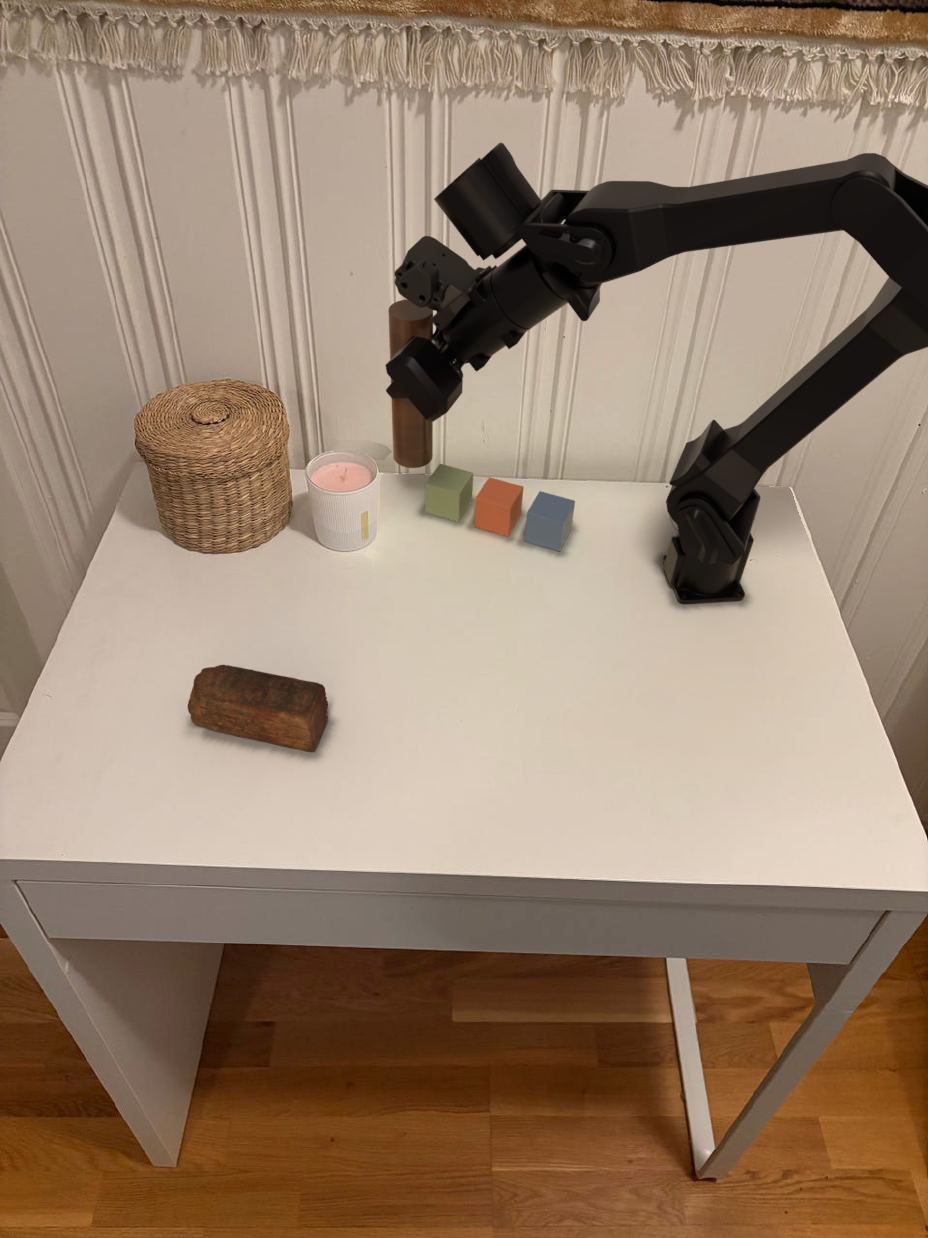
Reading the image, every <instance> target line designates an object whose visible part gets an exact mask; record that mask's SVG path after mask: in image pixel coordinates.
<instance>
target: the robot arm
mask: <svg viewBox="0 0 928 1238" xmlns="http://www.w3.org/2000/svg"><path fill="white" fill-rule="evenodd" d="M433 200H434V201H435V203H436V205H438V207H439V208H440V210H441V211H442V212H443V213H444V215H445V217H447V219H448V220H449V221H450V222H451V224H452V225H453V227H454V228H455V229H456V231H457V232H458V233H459V235H460V236H461V237H462V238H463V240H464V241H465V243H467V245H468V246H469V248H470V249H471V251H472V252H473V253H474V254H475V256H476V257H480V258H481V260H482V261H485V260H487V259H488V258H490V257H491V256H492V257H493V258H494V259H495V260H497V259H499V258H500V257H501V256H503V255H504V254H505V253H507V252H508V251H509V250H510V249H512V248H513V247H514V246H515V245H516V244H517V243H519V242H520V241H521V240H522V241H523V242H524V244H525V245H524V246H522V247H521V248H520V249H518V250H517V251H516V252H515V253H514V254H512V255H511V256H510V257H509V258H507V259H506V260H505V261H503V262H502V263H501V264H499V265H498V266H497V265H496V264H495V265H494V266H491V265H488V266H487V267H480V266H478V267H476V268H474V267H472V266H471V265H470V264H469V262H468V261H467V260H466V259H465V258H463V257H462V256H461V255H459V254H458V253H456V252H455V251H454V250H452V249H451V248H449V247H448V246H446V245H445V244H444V243H442V242H441V241H439V240H438V239H437V238H435V237H433V236H430V235H424V236H422V237H421V238H420V239H419V240H417V242H415V244H414V245H412V246H411V247H410V248H409V249H408V250H407V252H406V254H405V257H404V258H403V260H402V263H401V264H400V266H399V267H398V268H396V270H395V271H394V278H395V279H394V281H393V282H394V285H395V287H396V289H397V292H398V294H399V295H400V296H401V297H403V298H404V299H405V300H409V301H410V302H412V303H413V304H414V305H416V306H417V307H419V308H422V307H425V306H427V307H428V308H430V309H432V310H433V312H434V311H435V312H436V313H435V314H433V317H432V318H431V319H430V320H431V321H432V322H433V326H435V330H434V331H433V339H432V340H430V339H427V338H423V337H418V336H415V337H414V336H412V337H411V338H410V339H409V340H408V341H407V342H406V344H405V345H404V346H403V347H402V348H401V349H400V350H399V351H398V352H397V353H396V354H395V355H394V356H393V357H392V358H391V359H390V358H389V360H388V361H387V362H386V364H385V371H386V374H387V376H388V377H389V378H390V380H391V379H392V380H393V382H392V383H391V382H390V384H389V385H388V387H386V389H385V392H386V393H387V395H388V396H389V397H390V399H391V398H392V399H409V400H410V401H411V403H412V404H413V405H414V406H415V407H416V408H417V410H418V411H419V412H420V413H421V414H422V416H423V417H424V418H425V419H426V420H428V421H432V422H433V423H434V422H435V421H436V420H438V419H440V418H441V417H442V416H444V415H446V414H448V412H449V411H450V409H452V407H453V405H454V404H455V403H456V402H457V400H458V399H459V398H460V397H461V395H462V394H463V383H464V380H463V379H464V373H463V370H462V368H463V366H464V365H466V364H469V365H470V366H471V368H473V370H474V371H475V372H476V373H477V372H479V371H480V370H481V369H482V368H484V367H485V366H486V365H487V363H488V362H490V360H491V358H492V357H493V356H494V355H495V354H497V353H498V352H499V351H501V350H502V349H504V348H505V347H506V348H507V349H508V350H510V349H512V348H513V347H515V346H516V345H518V343H519V342H520V341H521V339H522V338H523V337H524V336H525V334H526V333H527V332H528V331H531V330H532V329H533V328H534V327H535V326H537V325H538V324H540V323H542V322H543V321H544V320H545V319H547V318H548V317H550V316H551V315H553V314H554V313H556V312H557V311H559V310H560V309H561V308H563V307H564V306H566V305H567V304H568V305H569V307H570V308H571V309H572V310H573V312H574V313H575V314H576V316H577V317H578V318H579V320H580V321H582V322H587V321H588V320H589V319H590V318H591V316H592V314H593V313H594V311H595V310H596V308H597V306H599V304H600V303H601V302H600V301H601V287H602V285H603V284H605V283H608V282H611V281H615V280H619V279H620V278H624V277H627V276H631V275H634V274H636V273H640V272H642V271H644V270H646V269H648V268H650V267H652V266H654V265H656V264H658V263H660V262H662V261H664V260H666V259H669V258H671V257H674V256H678V255H680V254H681V255H682V254H683V253H684V254H685V253H688V252H689V253H691V252H696V251H703V250H711V249H719V248H724V247H725V248H727V247H732V246H739V245H746V244H755V243H761V242H768V241H777V240H783V239H790V238H797V237H804V236H812V235H820V234H826V233H833V232H840V231H841V232H842V231H843V232H845V233H846V234H847V235H849V236H850V237H851V238H852V239H854V240H855V241H857V242H858V243H859V244H860V245H861V247H862V248H863V249H864V250H865V251H866V252H867V254H869V256H870V257H871V258H872V259H873V261H875V263H876V264H877V265H878V266H879V268H881V270H882V271H883V272H884V273H885V274H886V275H887V276H888V277H887V279H886V281H885V282H884V283H883V285H882V286H881V288H880V290H879V291H878V293H877V294H876V296H875V297H874V299H873V300H872V302H871V303H870V304H869V305H868V307H867V308H865V310H863V312H862V313H861V314H859V316H857V317H856V318H855V319H854V320H853V321H852V322H851V323H850V324H849V325H847V327H845V328H844V329H843V330H842V331H841V332H840V333H839V334H838V335H836V336H835V337H834V338H833V339H832V340H831V341H830V342H829V343H827V344H826V346H824V348H822V350H820V351H819V352H818V353H817V354H816V355H815V356H814V357H813V358H811V359H810V360H809V361H808V362H807V363H806V364H805V365H804V366H803V367H801V369H799V371H797V372H796V373H795V374H794V375H793V376H792V377H791V378H789V380H787V381H786V382H785V383H784V384H783V385H782V386H781V387H780V388H779V389H777V390H776V391H775V392H774V393H773V394H772V395H771V396H770V397H769V398H768V399H767V400H766V401H764V402H763V403H762V404H761V405H760V406H759V407H758V408H757V409H756V410H755V411H753V412H752V413H751V414H750V415H749V416H748V417H747V418H746V419H745V420H744V421H742V422H741V423H738V424H737V425H734V426H730V427H728V428H723V427H722V426H721V425H720V423H718V421H717V420H716V419H712V420H711V421H710V422H709V423H708V425H707V426H706V427H705V429H704V430H703V432H702V433H701V434H700V435H699V436H698V437H696V438H695V439H693V440H690V441H687V442H686V443H685V444H684V447H683V449H682V452H681V454H680V456H679V459H678V461H677V464H676V466H675V469H674V470H673V473H672V476H671V478H670V480H669V486H671V487H670V489H669V492H668V494H667V497H666V500H665V504H666V511H667V514H668V515H669V517H670V519H671V520H672V521H673V523H675V524H676V525H677V533H676V535H675V536H674V535H672V537H671V538H670V541H669V544H668V549H667V552H666V554H665V555H664V556H663V558H662V562H663V570H664V571H665V575H666V577H667V580H668V583H669V585H670V586H671V587H672V588H673V590H674V593H675V596H676V598H677V601H678V602H679V603H680V604H698V603H716V602H717V603H718V602H734V601H742V600H744V599H745V596H746V593H745V590H744V588H743V586H742V584H741V580H742V577H743V574H744V571H745V569H746V566H747V562H748V559H749V556H750V554H751V550H752V547H753V545H754V541H755V540H754V537H753V536H752V532H751V531H752V529H753V525H754V522H755V518H756V516H757V511H758V509H759V505H760V502H761V495H760V494H759V492H758V491H757V489H755V488H756V486H757V484H758V483H759V481H760V480H761V479H762V477H763V476H764V475H765V473H766V472H767V471H768V470H769V468H771V467H772V466H773V465H775V463H776V462H777V461H779V460H780V459H781V458H782V457H783V456H785V455H786V454H787V453H788V452H789V451H791V450H792V449H793V448H794V447H795V446H797V445H798V444H799V443H801V442H802V440H803V441H804V439H805V438H806V437H808V435H810V434H811V433H812V432H813V431H815V430H816V429H818V427H820V425H822V424H823V423H824V422H825V421H826V420H828V419H829V418H830V417H832V415H834V414H836V412H838V410H840V409H841V408H842V407H844V405H846V404H847V403H848V402H849V401H851V400H852V399H853V398H854V397H855V396H856V395H858V394H859V393H861V391H863V390H864V389H865V388H866V387H867V386H869V384H871V383H872V382H873V381H874V380H875V379H877V378H878V377H879V376H880V375H882V374H883V373H884V372H885V371H886V370H887V369H889V368H890V367H891V366H892V365H894V364H895V363H896V362H898V360H900V359H902V358H903V357H906V355H909V354H912V353H916V352H919V351H921V350H924V349H927V348H928V184H926V183H924V182H922V181H921V180H918V179H917V178H914V177H913V176H910V175H909V174H906V173H905V172H903V171H902V170H901V169H900V168H898V167H897V166H896V165H894V164H893V163H892V162H891V161H890V160H889V159H888V158H887V157H885V156H884V155H882V154H878V153H876V152H863V153H860V154H857V155H855V156H852V157H850V158H848V159H847V158H846V159H844V160H838V161H833V162H827V163H821V164H815V165H810V166H803V167H799V168H798V167H797V168H791V169H786V170H780V171H775V172H769V173H763V174H756V175H751V176H744V177H739V178H733V179H728V180H721V181H715V182H709V183H704V184H698V185H691V186H671V185H667V184H664V183H663V184H662V183H658V182H654V181H649V180H607V181H604V182H601V183H599V184H596V185H595V186H594V187H592V188H591V189H589V190H582V189H581V190H578V189H574V190H573V189H551V190H549V191H548V193H546V195H545V196H544V197H543V198H540V197H539V195H538V194H537V193H536V191H535V190H534V188H533V186H531V184H530V183H529V181H528V179H527V178H526V177H525V176H524V174H523V173H522V172H521V170H520V169H519V167H518V166H517V164H516V161H515V158H514V157H513V155H512V154H511V152H510V150H509V149H508V148H507V147H506V145H505V143H504V142H498V144H496V145H495V146H494V147H493V148H492V149H491V150H490V151H489V152H487V153H486V154H485V155H484V156H483V157H482V158H481V157H478V158H477V159H476V160H475V161H474V162H473V163H471V164H470V165H469V166H468V167H467V168H466V169H465V170H464V171H463V172H462V173H460V174H459V175H458V176H457V177H455V179H454V180H453V181H451V182H450V183H449V184H448V185H447V186H446V187H445V188H444V189H443V190H441V192H439V194H438V195H436V196H435V197H434V198H433Z"/></svg>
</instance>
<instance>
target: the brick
mask: <svg viewBox="0 0 928 1238" xmlns="http://www.w3.org/2000/svg"><path fill="white" fill-rule="evenodd" d="M327 699H328V697H327V693H326V687H325V686H324V684H321V683H319V682H315V681H310V680H304V679H298V678H295V677H292V676H291V677H290V676H285V675H279V674H275V673H269V672H264V671H259V670H254V669H251V668H250V669H249V668H244V667H239V666H234V665H229V664H218V665H217V666H210V667H209V666H207V667H204V668H202V669H201V670H200V672H199V673H198V674H196V675H195V677H194V678H193V686H192V688H191V691H190V695H189V699H188V702H187V711H188V713H189V715H190V720H191V722H192V723H193V724H194V725H197V726H200V727H203V728H206V729H210V730H213V731H215V732H218V733H222V734H223V733H224V734H228V735H232V736H236V737H241V738H245V739H250V740H256V741H259V742H263V743H269V744H272V745H276V746H280V747H285V748H290V749H297V750H301V751H305V752H314V751H315V750H316V748H317V745H318V744H319V742H320V739H321V736H322V735H323V732H324V730H325V728H326V725H327V723H328V708H329V701H328V700H327Z"/></svg>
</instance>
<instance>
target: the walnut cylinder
mask: <svg viewBox="0 0 928 1238" xmlns="http://www.w3.org/2000/svg"><path fill="white" fill-rule="evenodd" d="M387 310H388V333H389V334H388V338H389V339H388V340H389V360H390V359H391V358H392V357H393V356H394V355H395V354H396V353H397V352H398V351H399V350H400V349H401V348H402V347H403V346H404V345H405V344H406V342H407V341H408V340H409V339H410V338H411V337H412V336H414V337H415V336H418V337H423V338H427V339H430V340H432V339H433V334H434V324H433V322H432V321H431V320H430V319H431V318H432V317H433V316H434V310H432V309H430V308H428V307H427V306H425V307H422V308H419V307H417V306H416V305H414V304H413V303H412V302H410V301H409V300H407V299H401V300H397V301H395V302H393V303H392V304H391V305H390V306H389V307H388V309H387ZM392 382H393V380H392V379H391V378H390V384H391V383H392ZM390 399H391V401H390V402H391V425H392V427H391V428H392V458H393V460H394V462H395V463H396V464H397V465H399V466H401V467H404V468H407V469H419V468H422V467H426V466H427V465H429V464H430V463H431V462H432V460H433V456H434V455H433V454H434V452H433V451H434V450H433V448H434V447H433V446H434V442H433V441H434V440H433V439H434V435H433V432H434V431H433V430H434V422H432V421H428V420H426V419H425V418H424V417H423V416H422V414H421V413H420V412H419V411H418V410H417V408H416V407H415V406H414V405H413V404H412V403H411V401H410V400H409V399H392V398H391V397H390Z"/></svg>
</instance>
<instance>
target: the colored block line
mask: <svg viewBox="0 0 928 1238" xmlns="http://www.w3.org/2000/svg"><path fill="white" fill-rule="evenodd" d="M473 486H474V472H472V471H469V470H465V469H461V468H459V467H453V466H451V465H446V464H442V463H439V464H438V466H436V468H435V469H434V471H433V472H432V474H431V475H430V477H429V478H428V480H427V481H426V482H425V483H424V490H425V491H424V503H425V504H424V506H425V507H424V508H425V509H424V513H426V514H430V515H433V516H436V517H439V518H442V519H446V520H450V521H452V522H455V523H456V522H457V523H459V522H460V520H461V519H462V517H463V516H464V515H465V513H466V511H467V510H468V508H469V507H470V506H471V504H472V503H473V489H474V488H473ZM523 496H524V486H523V485H520V484H516V483H512V482H509V481H505V480H502V479H497V478H494V477H490V476H489V477H488V478H487V480H486V481H485V482H484V484H483V485H482V487H481V489H480V490H479V492H478V493H477V495H476V496H475V500H474V519H473V527H474V528H477V529H481V530H484V531H487V532H490V533H494V534H497V535H502V536H503V537H509V536H510V535H511V533H512V531H513V530H514V528H515V526H516V524H517V523H518V521H519V519H520V518H521V516H522V508H523V498H524V497H523ZM575 505H576V500H574V499H570V498H566V497H563V496H559V495H556V494H552V493H548V492H545V491H541V490H540V491H538V493H537V495H536V497H535V498H534V500H533V501H532V503H531V505H530V507H529V509H528V510H527V512H526V519H525V529H524V539H523V541H524V542H525V543H528V544H532V545H535V546H538V547H542V548H545V549H550V550H552V551H556V552H560V551H561V550H562V547H563V546H564V544H565V542H566V540H567V539H568V537H569V534H570V533H571V530H572V525H573V519H574V510H575Z"/></svg>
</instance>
